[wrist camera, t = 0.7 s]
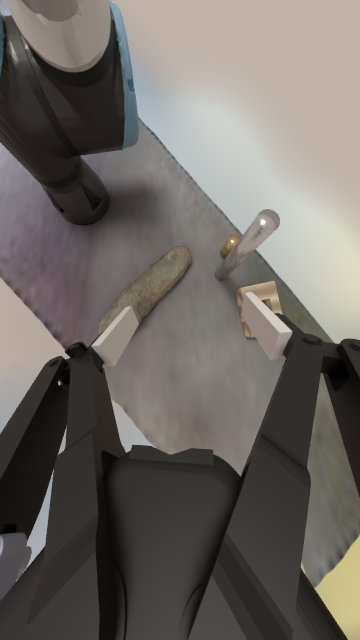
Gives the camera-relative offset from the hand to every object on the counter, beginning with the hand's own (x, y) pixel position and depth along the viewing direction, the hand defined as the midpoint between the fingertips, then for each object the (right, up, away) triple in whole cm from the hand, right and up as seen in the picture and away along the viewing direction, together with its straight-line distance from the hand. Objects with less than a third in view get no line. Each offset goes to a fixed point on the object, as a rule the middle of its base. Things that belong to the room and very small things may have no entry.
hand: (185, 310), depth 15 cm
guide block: (+22, +2, +24) cm, 32 cm away
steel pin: (+12, +13, +24) cm, 29 cm away
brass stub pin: (+13, +19, +24) cm, 34 cm away
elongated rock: (-10, +7, +23) cm, 26 cm away
